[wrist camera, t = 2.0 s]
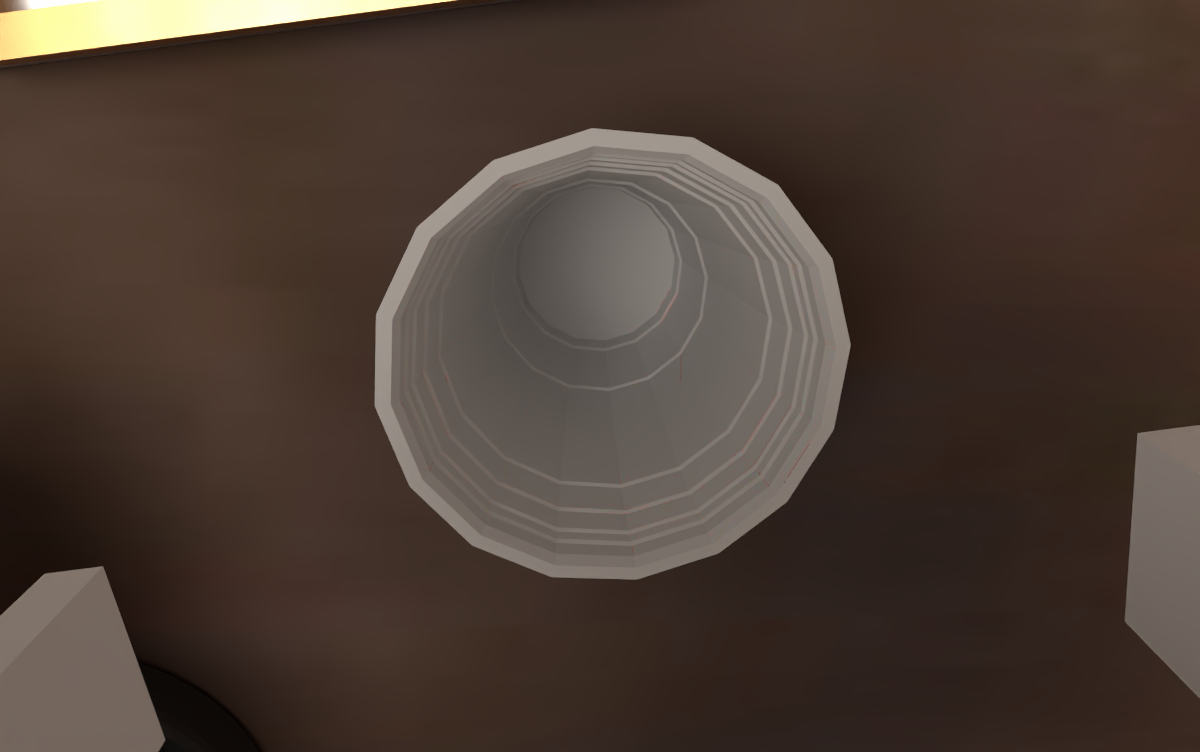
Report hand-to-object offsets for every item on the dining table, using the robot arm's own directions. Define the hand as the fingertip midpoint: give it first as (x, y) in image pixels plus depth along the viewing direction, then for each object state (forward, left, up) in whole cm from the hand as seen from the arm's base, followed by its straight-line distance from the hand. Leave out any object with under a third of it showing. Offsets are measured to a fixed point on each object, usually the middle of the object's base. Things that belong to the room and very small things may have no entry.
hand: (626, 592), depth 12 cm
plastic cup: (0, 0, -21) cm, 21 cm away
